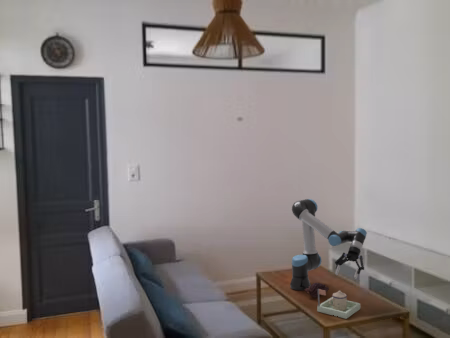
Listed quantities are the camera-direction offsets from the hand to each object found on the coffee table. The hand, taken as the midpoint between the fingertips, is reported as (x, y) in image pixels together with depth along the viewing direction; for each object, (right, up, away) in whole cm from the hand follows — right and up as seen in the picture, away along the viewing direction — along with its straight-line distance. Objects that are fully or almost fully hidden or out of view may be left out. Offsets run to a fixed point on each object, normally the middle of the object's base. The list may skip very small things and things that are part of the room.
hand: (345, 276), depth 289 cm
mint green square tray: (-6, -20, -6) cm, 22 cm away
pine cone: (-15, -19, +19) cm, 31 cm away
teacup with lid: (-7, -20, -6) cm, 22 cm away
